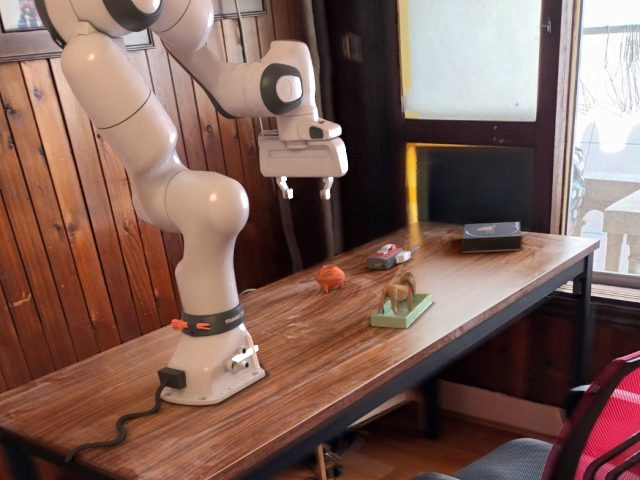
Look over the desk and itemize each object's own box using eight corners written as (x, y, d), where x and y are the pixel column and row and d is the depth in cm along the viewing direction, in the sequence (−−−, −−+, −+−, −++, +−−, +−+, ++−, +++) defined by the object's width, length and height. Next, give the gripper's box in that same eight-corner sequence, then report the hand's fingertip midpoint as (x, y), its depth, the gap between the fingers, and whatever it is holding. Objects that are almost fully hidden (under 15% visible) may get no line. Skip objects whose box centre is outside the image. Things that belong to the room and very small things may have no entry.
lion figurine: (400, 309, 182) (400, 270, 179) (420, 310, 180) (421, 271, 177) (372, 316, 170) (372, 274, 167) (393, 317, 168) (394, 275, 164)
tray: (406, 328, 170) (405, 318, 168) (371, 326, 173) (370, 315, 171) (431, 303, 182) (431, 293, 181) (398, 301, 186) (398, 291, 184)
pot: (308, 290, 198) (309, 263, 195) (331, 289, 203) (333, 263, 200) (326, 294, 193) (328, 267, 190) (350, 293, 198) (352, 266, 195)
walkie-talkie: (391, 271, 207) (422, 251, 221) (390, 255, 204) (421, 236, 219) (363, 269, 211) (395, 250, 225) (362, 253, 208) (394, 235, 223)
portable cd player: (463, 238, 231) (463, 224, 228) (519, 235, 228) (520, 221, 226) (460, 252, 217) (460, 238, 215) (520, 250, 215) (520, 235, 212)
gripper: (249, 132, 160) (259, 200, 168) (334, 130, 153) (341, 202, 160) (264, 128, 165) (273, 195, 173) (347, 126, 158) (353, 196, 165)
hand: (306, 198), depth 166 cm, fingers open, 8 cm apart
